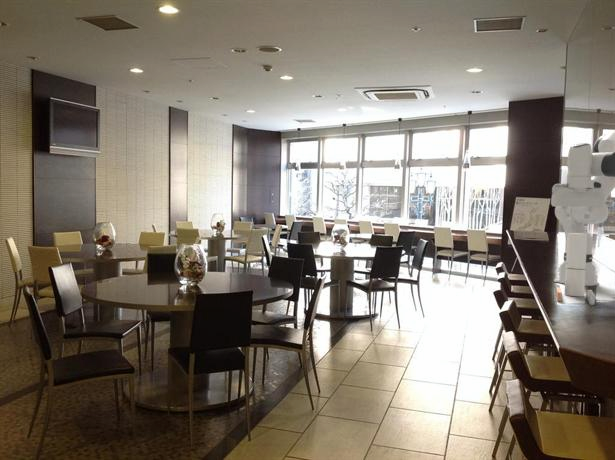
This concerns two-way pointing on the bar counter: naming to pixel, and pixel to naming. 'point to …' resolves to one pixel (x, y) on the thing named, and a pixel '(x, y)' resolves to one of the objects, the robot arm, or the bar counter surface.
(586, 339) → the bar counter surface
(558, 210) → the robot arm
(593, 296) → the vise fixed jaw
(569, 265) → the white tall box
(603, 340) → the bar counter surface
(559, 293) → the sliding jaw
